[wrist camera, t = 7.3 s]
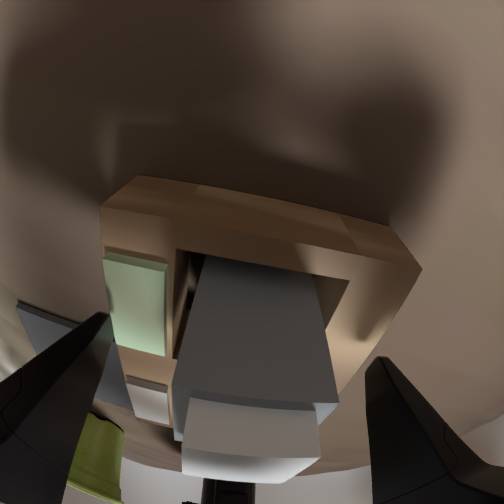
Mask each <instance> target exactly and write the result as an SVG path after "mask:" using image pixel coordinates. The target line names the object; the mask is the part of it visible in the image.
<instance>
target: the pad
mask: <svg viewBox="0 0 504 504" xmlns="http://www.w3.org/2000/svg"><path fill="white" fill-rule="evenodd" d="M16 310H17V312H18V314H19V317H20V319H21V321H22V324H23V326H24V328H25V330H26V333H27V335H28V337H29V339H30V341H31V343H32V345H33V347H34V349H35V351H36V353H37V355H38V354H40V353H41V352H42V351H44V350H45V349H46V348H48V347H49V346H50V345H52V344H53V343H55V342H56V341H57V340H59V339H60V338H61V337H63V336H64V335H66V334H67V333H68V332H70V331H71V330H73V329H74V328H75V327H77V326H78V325H79V324H76V323H73V322H70V321H68V320H65V319H62V318H59V317H56V316H53V315H51V314H48V313H45V312H43V311H40V310H37V309H35V308H32V307H30V306H27V305H25V304H22V303H20V302H19V303H18V304H17V305H16ZM94 398H97V399H100V400H103V401H106V402H109V403H112V404H115V405H118V406H121V407H124V408H128V409H131V410H134V409H133V406H132V403H131V399H130V396H129V393H128V389H127V386H126V380H125V376H124V372H123V368H122V364H121V360H120V356H119V352H118V347H117V344H116V341H115V336H113V340H112V343H111V346H110V350H109V353H108V357H107V360H106V364H105V368H104V371H103V375H102V378H101V381H100V383H99V386H98V388H97V391H96V393H95V396H94Z"/></svg>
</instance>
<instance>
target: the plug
mask: <svg viewBox="0 0 504 504" xmlns="http://www.w3.org/2000/svg"><path fill="white" fill-rule="evenodd" d="M171 390H172V411H173V427H174V440H176V441H181V442H182V446H181V449H182V474H185V475H191V476H197V477H203V478H210V479H218V480H227V481H237V482H252V483H284V482H285V481H287V480H289V479H290V478H292V477H293V476H295V475H296V474H298V473H299V472H301V471H302V470H304V469H305V468H307V467H308V466H310V465H311V464H313V463H314V462H315V461H317V460H318V459H320V458H321V451H320V441H319V431H318V426H319V425H320V424H321V422H322V421H323V420H324V419H325V418H326V417H327V416H328V415H329V414H330V413H331V412H332V411H333V410H334V409H335V408H336V406H337V405H338V404H339V398H338V392H337V387H336V382H335V376H334V371H333V366H332V361H331V356H330V351H329V346H328V341H327V337H326V332H325V327H324V323H323V318H322V314H321V309H320V305H319V301H318V296H317V292H316V288H315V284H314V279H313V275H312V274H311V273H305V272H300V271H294V270H289V269H283V268H278V267H272V266H267V265H261V264H256V263H250V262H245V261H240V260H234V259H229V258H224V257H218V256H213V255H208V254H207V255H206V258H205V262H204V265H203V268H202V272H201V275H200V279H199V282H198V286H197V289H196V293H195V296H194V300H193V303H192V307H191V310H190V314H189V318H188V321H187V325H186V329H185V333H184V336H183V340H182V344H181V348H180V352H179V356H178V360H177V363H176V367H175V371H174V375H173V380H172V384H171Z"/></svg>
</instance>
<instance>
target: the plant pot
mask: <svg viewBox="0 0 504 504" xmlns="http://www.w3.org/2000/svg"><path fill="white" fill-rule="evenodd" d="M123 442H124V433H123V432H122V431H121V430H120V429H119V428H118V427H117V426H115V425H114V424H113V423H111V422H109V421H103V420H100V419H98V418H97V417H95V415H94V414H92V413H90V412H88V415H87V418H86V421H85V424H84V427H83V430H82V433H81V436H80V439H79V442H78V445H77V448H76V451H75V455H74V458H73V461H72V465H71V468H70V472H69V474H68V475H69V476H68V479H67V483H66V484H68V485H70V486H72V487H74V488H76V489H79V490H81V491H84V492H86V493H88V494H90V495H93V496H95V497H98V498H101V499H103V500H106V501H109V502H112V503H115V504H124V502H121V489H120V487H119V484H120V469H121V459H122V450H123Z"/></svg>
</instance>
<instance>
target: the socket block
mask: <svg viewBox="0 0 504 504" xmlns="http://www.w3.org/2000/svg"><path fill="white" fill-rule="evenodd" d="M100 221H101V237H102V249H103V267H104V275H105V283H106V290H107V297H108V303H109V309H110V315H111V319H112V324H113V330H114V336H115V341H116V344H117V347H118V352H119V356H120V360H121V364H122V368H123V372H124V376H125V380H126V386H127V389H128V393H129V396H130V399H131V403H132V406H133V409H134V412H135V415H136V417H137V420H140V421H144V422H148V423H152V424H156V425H160V426H164V427H169V428H173V429H174V427H173V411H172V390H171V384H172V380H173V375H174V371H175V367H176V363H177V360H178V356H179V352H180V348H181V344H182V340H183V336H184V333H185V329H186V325H187V321H188V318H189V314H190V310H189V309H186V304H187V292H188V280H189V269H190V259H191V251H192V252H197V253H203V254H208V255H213V256H218V257H224V258H229V259H234V260H240V261H245V262H250V263H256V264H261V265H267V266H272V267H278V268H283V269H289V270H294V271H300V272H305V273H311V274H315V276H314V284H315V288H316V292H317V296H318V301H319V305H320V309H321V314H322V318H323V323H324V327H325V332H326V337H327V341H328V346H329V351H330V356H331V361H332V366H333V371H334V376H335V382H336V387H337V392H338V394H339V392H340V391H341V390H342V389H343V388H344V386H345V385H346V384H347V383H348V381H349V380H350V379H351V378H352V376H353V375H354V374H355V372H356V371H357V370H358V369H359V367H360V366H361V365H362V363H363V362H364V361H365V359H366V358H367V356H368V355H369V354H370V352H371V351H372V350H373V348H374V347H375V345H376V344H377V342H378V341H379V340H380V338H381V337H382V335H383V334H384V332H385V331H386V329H387V328H388V326H389V325H390V323H391V322H392V320H393V318H394V317H395V315H396V314H397V312H398V311H399V309H400V307H401V306H402V304H403V302H404V301H405V299H406V297H407V296H408V294H409V292H410V291H411V289H412V287H413V285H414V284H415V282H416V280H417V278H418V276H419V275H420V273H421V271H422V268H421V266H420V265H419V264H418V262H417V261H416V259H415V258H414V257H413V255H412V254H411V253H410V251H409V250H408V249H407V248H406V246H405V245H404V244H403V242H402V241H401V240H400V239H399V237H398V236H397V235H396V234H395V232H394V231H393V230H392V229H391V227H388V226H385V225H381V224H378V223H374V222H370V221H366V220H362V219H359V218H355V217H351V216H347V215H343V214H339V213H335V212H331V211H326V210H322V209H318V208H314V207H309V206H305V205H301V204H296V203H292V202H287V201H283V200H278V199H273V198H268V197H264V196H259V195H254V194H249V193H244V192H238V191H233V190H228V189H222V188H217V187H211V186H206V185H200V184H194V183H188V182H182V181H176V180H169V179H163V178H156V177H149V176H142V175H137V176H136V177H135V178H133V179H132V180H131V181H130V182H128V183H127V184H126V185H125V186H123V187H122V188H121V189H120V190H119V191H117V192H116V193H115V194H114V195H112V196H111V197H110V198H109V199H108V200H107V201H105V202H104V203H103V204H102V205H101V206H100Z"/></svg>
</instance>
